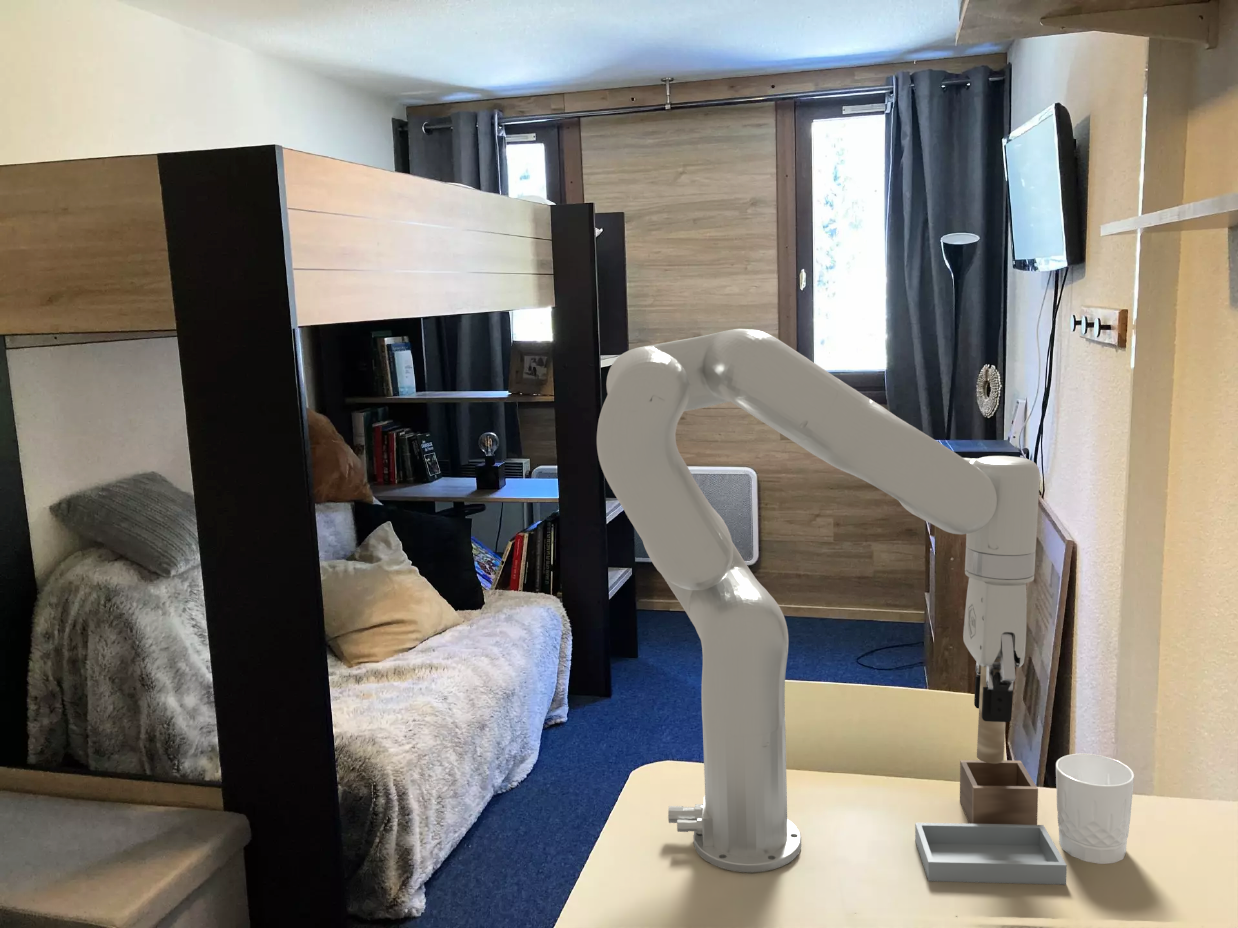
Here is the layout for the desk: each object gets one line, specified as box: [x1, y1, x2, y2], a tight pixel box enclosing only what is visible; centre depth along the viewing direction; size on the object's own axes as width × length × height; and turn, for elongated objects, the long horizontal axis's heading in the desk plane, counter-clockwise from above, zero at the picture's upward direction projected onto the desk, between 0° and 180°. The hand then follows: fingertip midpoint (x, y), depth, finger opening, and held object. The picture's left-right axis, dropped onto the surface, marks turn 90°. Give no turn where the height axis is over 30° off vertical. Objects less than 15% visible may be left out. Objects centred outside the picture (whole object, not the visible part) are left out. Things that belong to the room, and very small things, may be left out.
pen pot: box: [959, 759, 1039, 825], centre depth 119 cm, size 7×7×6 cm
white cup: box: [1055, 753, 1135, 865], centre depth 111 cm, size 8×8×10 cm
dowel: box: [976, 659, 1007, 764], centre depth 117 cm, size 3×3×12 cm
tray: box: [914, 822, 1068, 886], centre depth 110 cm, size 14×8×3 cm, turn 83°
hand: (992, 712), depth 117 cm, fingers closed on dowel, 3 cm apart
